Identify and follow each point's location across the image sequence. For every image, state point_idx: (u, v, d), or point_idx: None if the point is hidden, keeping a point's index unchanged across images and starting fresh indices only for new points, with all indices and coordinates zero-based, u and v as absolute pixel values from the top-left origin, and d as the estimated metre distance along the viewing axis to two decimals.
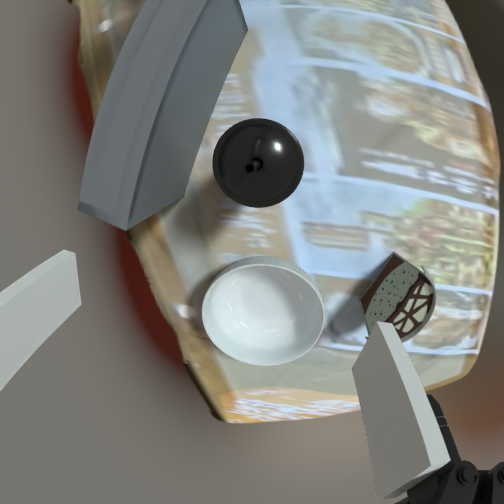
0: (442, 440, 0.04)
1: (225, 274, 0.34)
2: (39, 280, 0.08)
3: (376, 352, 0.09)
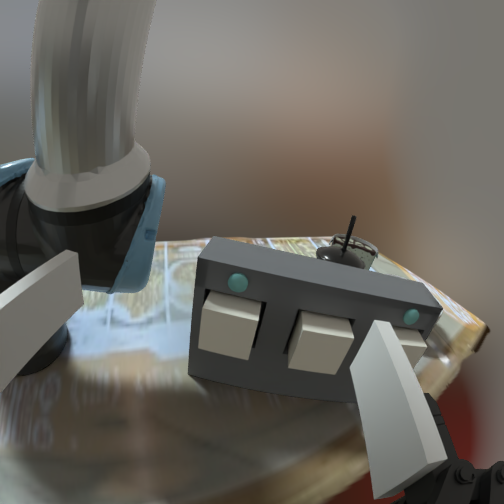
0: (439, 439, 0.05)
1: None
2: (42, 280, 0.08)
3: (373, 351, 0.09)
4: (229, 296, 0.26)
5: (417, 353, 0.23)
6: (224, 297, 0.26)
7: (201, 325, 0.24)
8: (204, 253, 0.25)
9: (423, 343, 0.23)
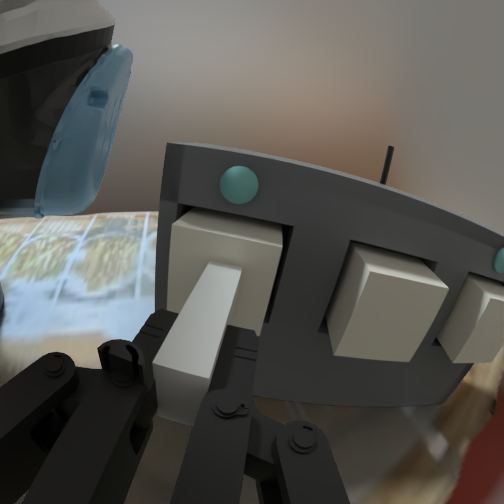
0: (213, 358, 0.07)
1: None
2: None
3: None
4: (224, 216, 0.15)
5: None
6: (216, 216, 0.14)
7: (170, 264, 0.13)
8: (180, 143, 0.13)
9: None
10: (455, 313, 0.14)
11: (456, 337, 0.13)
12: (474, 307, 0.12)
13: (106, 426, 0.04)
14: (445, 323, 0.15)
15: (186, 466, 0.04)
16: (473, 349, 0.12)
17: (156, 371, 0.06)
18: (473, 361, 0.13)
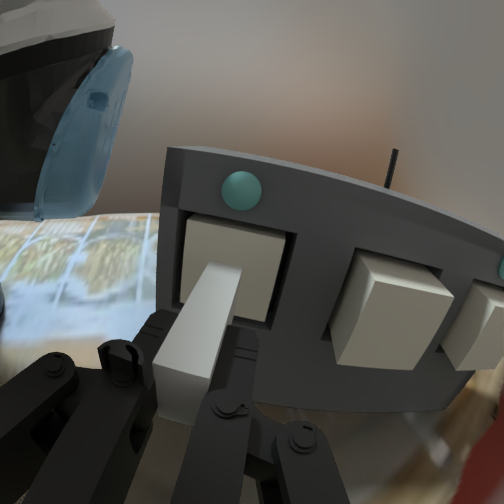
0: (213, 358, 0.07)
1: None
2: None
3: None
4: None
5: None
6: None
7: (185, 255, 0.14)
8: (181, 147, 0.13)
9: None
10: (459, 320, 0.14)
11: (459, 345, 0.13)
12: (478, 315, 0.12)
13: (106, 426, 0.04)
14: (449, 330, 0.15)
15: (186, 466, 0.04)
16: (477, 356, 0.12)
17: (156, 371, 0.06)
18: (476, 368, 0.12)
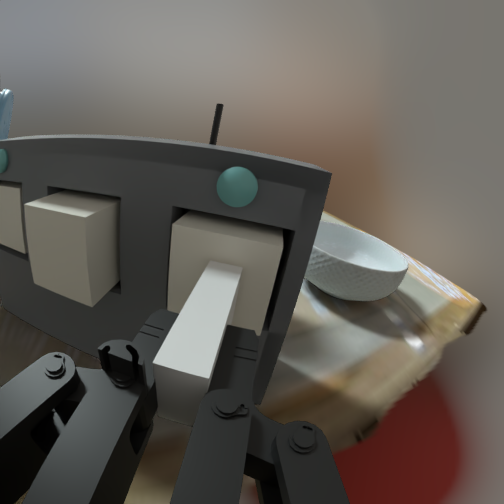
0: (213, 358, 0.07)
1: (329, 254, 0.29)
2: None
3: None
4: None
5: (260, 263, 0.12)
6: None
7: None
8: None
9: (276, 240, 0.12)
10: None
11: None
12: None
13: (106, 426, 0.04)
14: None
15: (186, 466, 0.04)
16: None
17: (156, 371, 0.06)
18: None
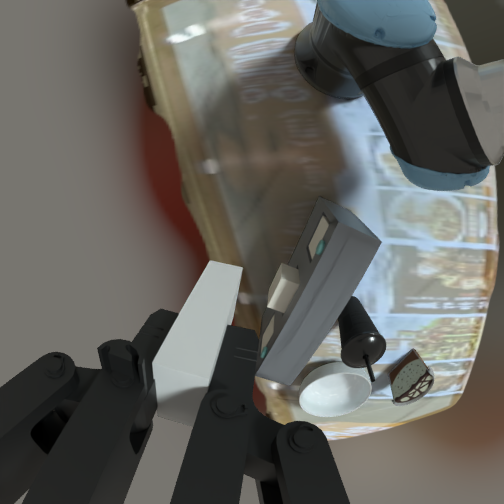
0: (213, 358, 0.07)
1: (320, 378, 0.50)
2: None
3: None
4: None
5: None
6: None
7: (325, 221, 0.35)
8: (345, 227, 0.29)
9: None
10: None
11: None
12: None
13: (106, 426, 0.04)
14: None
15: (186, 466, 0.04)
16: (270, 324, 0.44)
17: (156, 371, 0.06)
18: (268, 325, 0.45)
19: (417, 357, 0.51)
